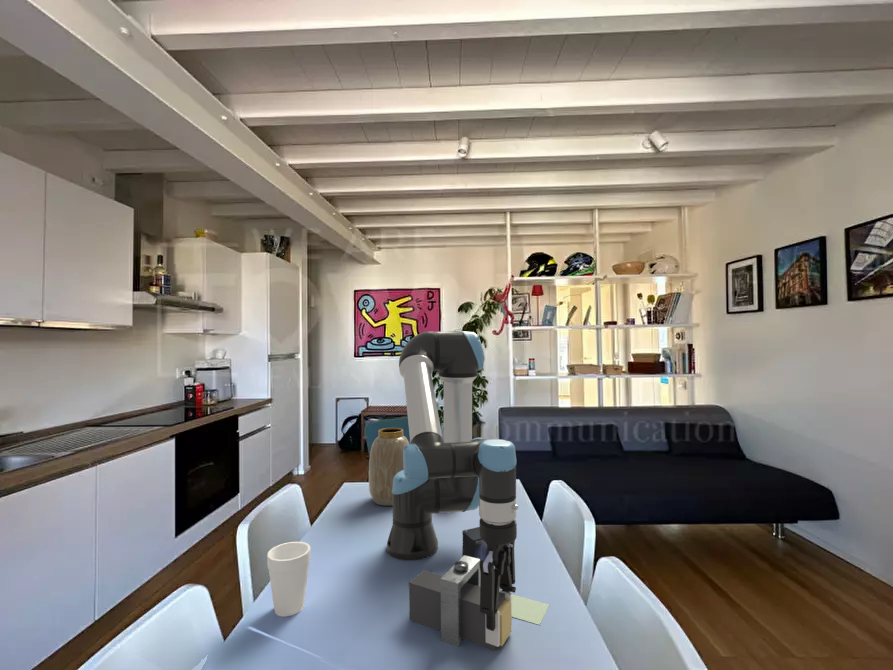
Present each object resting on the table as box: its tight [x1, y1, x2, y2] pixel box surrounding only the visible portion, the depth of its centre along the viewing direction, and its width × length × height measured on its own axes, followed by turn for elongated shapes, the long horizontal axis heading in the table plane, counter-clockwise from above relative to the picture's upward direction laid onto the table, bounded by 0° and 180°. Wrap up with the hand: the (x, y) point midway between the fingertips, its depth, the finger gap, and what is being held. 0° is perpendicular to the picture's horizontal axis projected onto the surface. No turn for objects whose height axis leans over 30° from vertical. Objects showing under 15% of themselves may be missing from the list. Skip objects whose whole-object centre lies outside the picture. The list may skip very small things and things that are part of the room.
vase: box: [368, 427, 410, 507], centre depth 169 cm, size 17×17×27 cm
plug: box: [408, 569, 512, 650], centre depth 92 cm, size 22×6×8 cm, turn 61°
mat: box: [511, 593, 550, 626], centre depth 100 cm, size 18×8×1 cm, turn 62°
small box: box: [461, 526, 497, 574], centre depth 115 cm, size 11×6×10 cm, turn 117°
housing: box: [440, 555, 481, 648], centre depth 92 cm, size 4×11×13 cm, turn 152°
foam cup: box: [266, 541, 312, 618], centre depth 100 cm, size 10×9×13 cm
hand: (499, 633), depth 88 cm, fingers closed on plug, 6 cm apart
